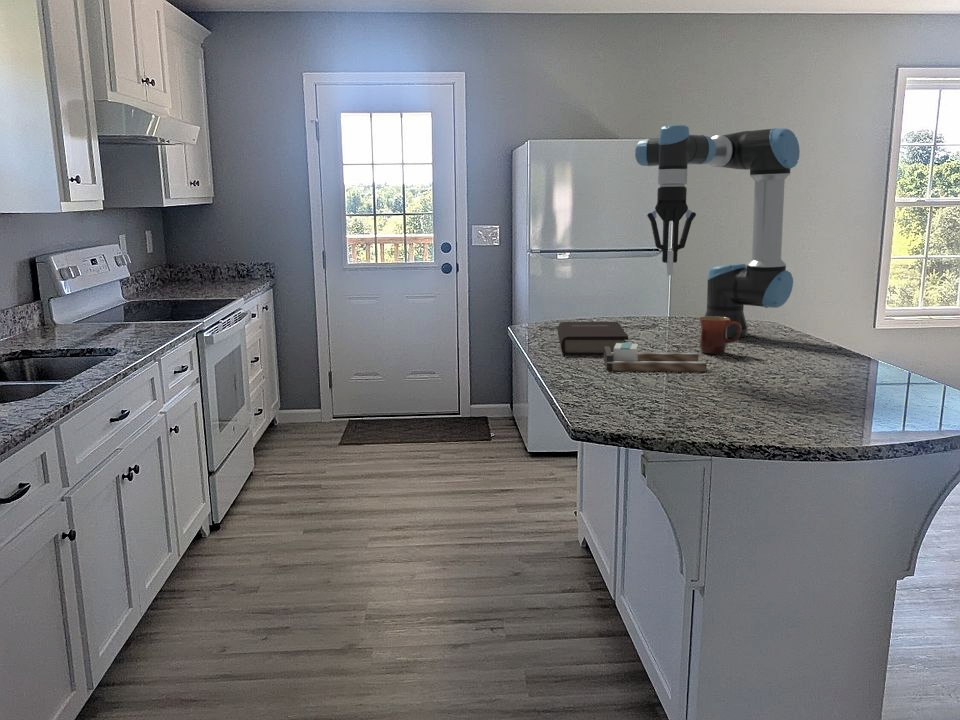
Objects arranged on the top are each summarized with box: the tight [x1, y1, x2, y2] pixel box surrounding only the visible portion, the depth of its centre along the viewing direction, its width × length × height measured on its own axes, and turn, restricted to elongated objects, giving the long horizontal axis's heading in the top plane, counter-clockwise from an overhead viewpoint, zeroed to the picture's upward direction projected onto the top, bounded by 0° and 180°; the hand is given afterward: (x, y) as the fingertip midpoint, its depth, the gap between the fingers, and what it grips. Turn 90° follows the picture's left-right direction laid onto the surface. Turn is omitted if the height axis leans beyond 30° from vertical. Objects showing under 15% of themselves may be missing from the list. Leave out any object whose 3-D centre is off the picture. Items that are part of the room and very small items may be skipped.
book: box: [557, 321, 629, 356], centre depth 244 cm, size 28×20×6 cm
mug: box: [698, 315, 741, 356], centre depth 230 cm, size 12×9×10 cm
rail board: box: [603, 346, 708, 372], centre depth 215 cm, size 26×13×4 cm, turn 85°
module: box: [613, 342, 639, 361], centre depth 216 cm, size 6×8×6 cm
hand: (669, 274), depth 214 cm, fingers closed
